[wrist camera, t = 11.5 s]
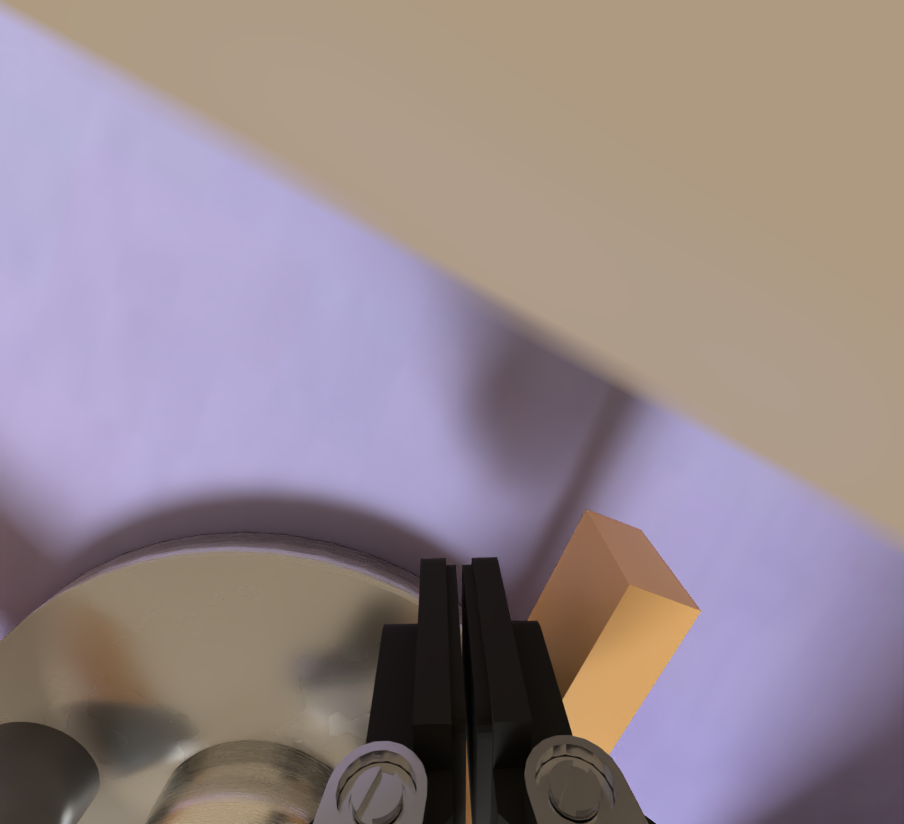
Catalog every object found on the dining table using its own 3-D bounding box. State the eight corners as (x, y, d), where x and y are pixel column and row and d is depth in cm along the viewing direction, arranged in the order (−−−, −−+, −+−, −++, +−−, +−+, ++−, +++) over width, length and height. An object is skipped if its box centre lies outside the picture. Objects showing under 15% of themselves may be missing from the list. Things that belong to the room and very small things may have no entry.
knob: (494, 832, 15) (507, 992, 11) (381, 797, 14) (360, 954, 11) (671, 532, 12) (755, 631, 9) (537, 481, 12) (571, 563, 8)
